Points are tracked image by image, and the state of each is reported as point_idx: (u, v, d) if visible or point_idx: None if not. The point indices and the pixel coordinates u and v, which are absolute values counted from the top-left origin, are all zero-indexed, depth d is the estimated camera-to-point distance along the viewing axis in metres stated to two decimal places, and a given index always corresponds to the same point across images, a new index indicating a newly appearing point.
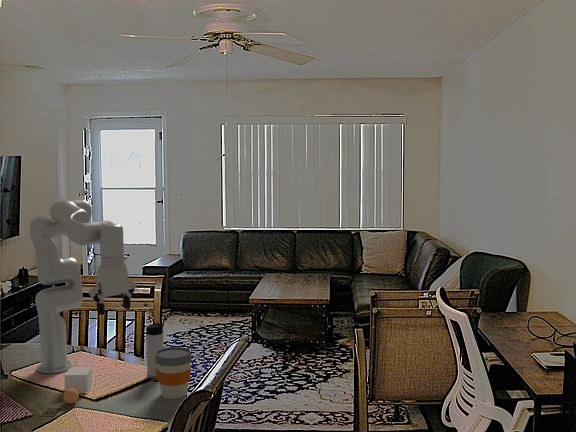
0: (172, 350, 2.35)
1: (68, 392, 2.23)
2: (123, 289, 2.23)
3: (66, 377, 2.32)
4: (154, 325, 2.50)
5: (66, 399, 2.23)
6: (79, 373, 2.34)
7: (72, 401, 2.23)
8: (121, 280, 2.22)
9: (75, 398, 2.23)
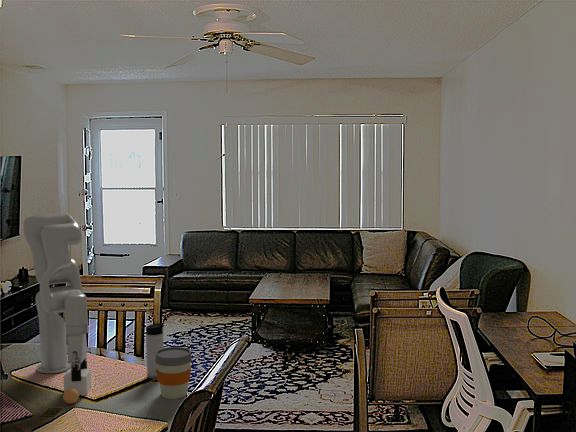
0: (172, 350, 2.35)
1: (68, 392, 2.23)
2: (86, 353, 2.37)
3: (65, 379, 2.30)
4: (154, 325, 2.50)
5: (66, 399, 2.23)
6: None
7: (72, 401, 2.23)
8: (86, 345, 2.36)
9: (75, 398, 2.23)
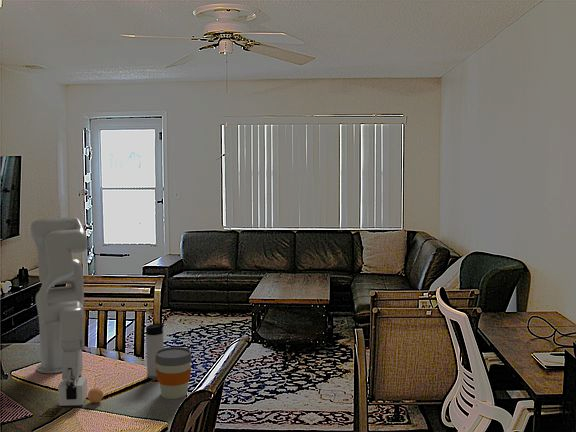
0: (172, 350, 2.35)
1: (95, 402, 2.24)
2: (81, 368, 2.27)
3: (60, 388, 2.20)
4: (154, 325, 2.50)
5: (97, 397, 2.23)
6: None
7: (91, 394, 2.23)
8: (81, 360, 2.26)
9: (88, 396, 2.24)
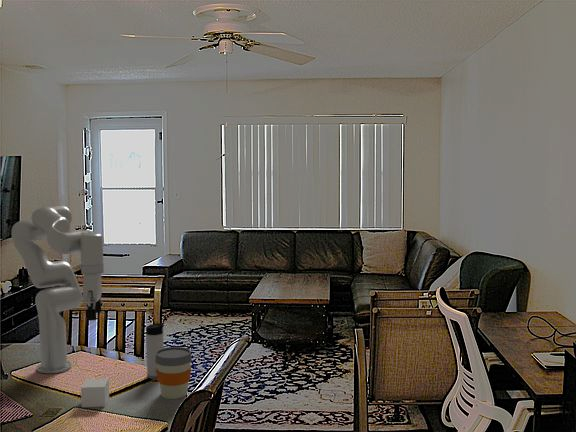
0: (172, 350, 2.35)
1: None
2: None
3: (83, 389, 2.21)
4: (154, 325, 2.50)
5: None
6: (96, 385, 2.23)
7: None
8: None
9: None
